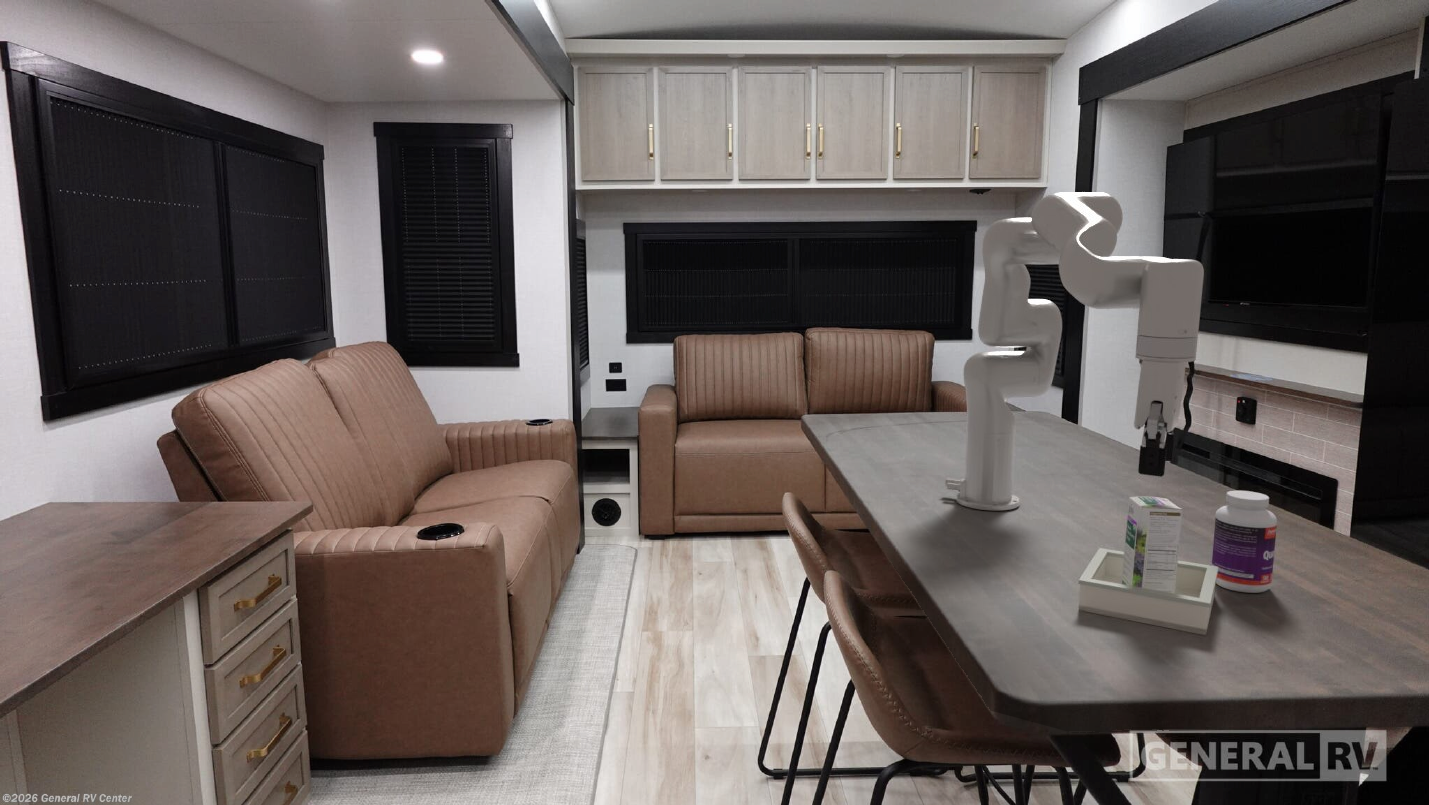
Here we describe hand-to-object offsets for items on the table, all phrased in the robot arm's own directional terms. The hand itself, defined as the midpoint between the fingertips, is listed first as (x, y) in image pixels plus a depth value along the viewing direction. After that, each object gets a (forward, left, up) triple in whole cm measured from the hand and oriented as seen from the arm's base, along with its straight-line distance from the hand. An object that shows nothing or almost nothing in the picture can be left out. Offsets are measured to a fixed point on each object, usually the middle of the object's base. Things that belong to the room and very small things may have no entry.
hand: (1155, 467), depth 123 cm
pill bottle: (+11, +15, -21) cm, 28 cm away
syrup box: (0, 0, -20) cm, 20 cm away
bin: (0, 0, -20) cm, 20 cm away
